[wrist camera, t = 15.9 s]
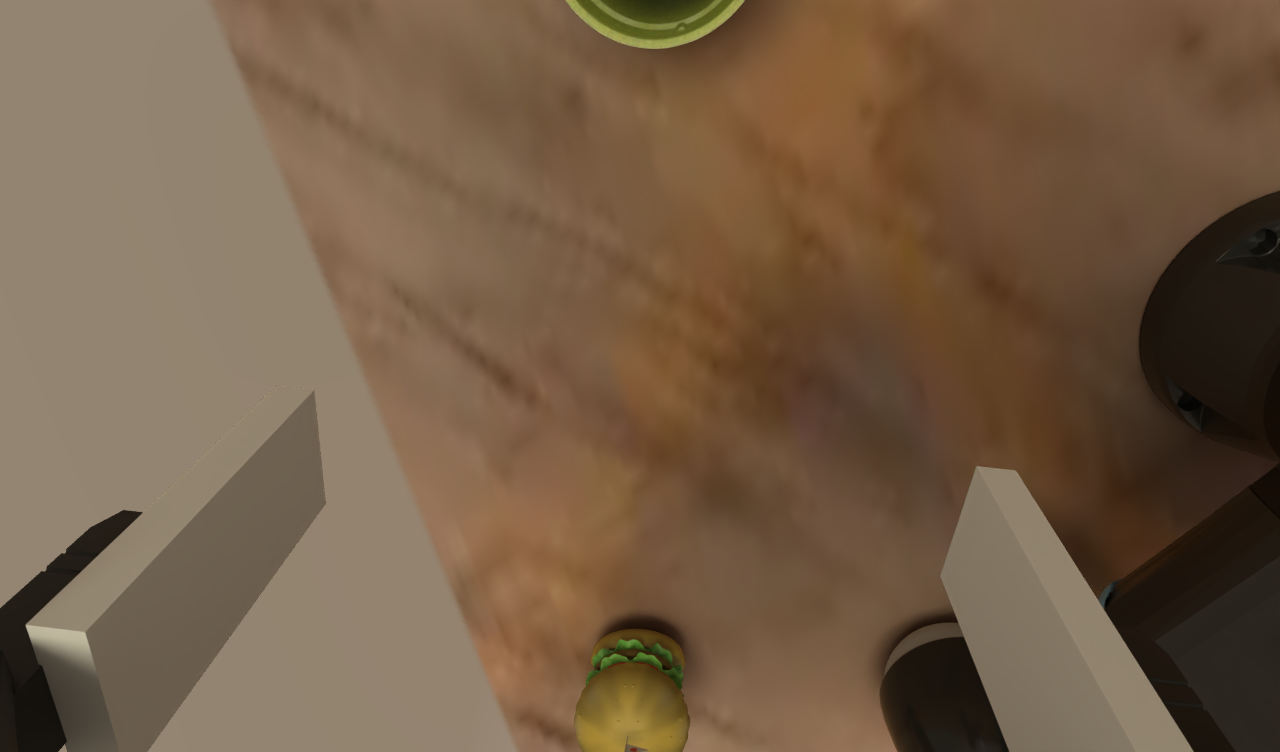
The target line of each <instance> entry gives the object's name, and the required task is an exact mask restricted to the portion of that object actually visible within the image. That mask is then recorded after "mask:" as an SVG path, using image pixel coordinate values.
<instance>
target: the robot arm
mask: <svg viewBox="0 0 1280 752" xmlns="http://www.w3.org/2000/svg"><path fill="white" fill-rule="evenodd" d="M1140 353H1141V360H1142V365H1143V369H1144V372H1145V375H1146V378H1147V380H1148V382H1149V384H1150V386H1151V388H1152V389H1153V391H1154V392H1155V394H1156V395H1157V396H1158V397H1159V399H1160V400H1161V401H1162V402H1163V403H1164V404H1165V405H1166V406H1167V407H1168V408H1169V409H1170V410H1171V411H1173V412H1174V413H1175V414H1176V415H1177V416H1178V417H1179V418H1180V419H1181V420H1182V421H1184V422H1185V423H1186V424H1187V425H1188V426H1190V427H1191V428H1193V429H1194V430H1196V431H1197V432H1199V433H1201V434H1203V435H1204V436H1206V437H1208V438H1210V439H1212V440H1214V441H1217V442H1220V443H1222V444H1225V445H1228V446H1231V447H1234V448H1237V449H1240V450H1243V451H1246V452H1249V453H1252V454H1255V455H1258V456H1261V457H1264V458H1267V459H1270V460H1273V461H1276V462H1279V464H1278V465H1277V466H1276V467H1274V468H1273V469H1272V470H1270V471H1269V472H1268V473H1266V474H1265V475H1264V476H1262V477H1261V478H1260V479H1258V480H1257V481H1256V482H1254V483H1253V484H1252V485H1250V486H1248V487H1247V488H1246V489H1244V490H1243V491H1242V492H1240V493H1239V494H1238V495H1236V496H1235V497H1234V498H1232V499H1231V500H1230V501H1228V502H1227V503H1226V504H1224V505H1223V506H1222V507H1220V508H1219V509H1218V510H1216V511H1215V512H1214V513H1212V514H1211V515H1210V516H1208V517H1207V518H1206V519H1204V520H1203V521H1202V522H1200V523H1199V524H1198V525H1196V526H1195V527H1193V528H1192V529H1191V530H1189V531H1188V532H1187V533H1185V534H1184V535H1182V536H1181V537H1180V538H1178V539H1177V540H1176V541H1174V542H1173V543H1171V544H1170V545H1169V546H1167V547H1166V548H1165V549H1163V550H1162V551H1160V552H1159V553H1158V554H1156V555H1155V556H1154V557H1152V558H1151V559H1149V560H1148V561H1147V562H1145V563H1144V564H1143V565H1141V566H1140V567H1138V568H1137V569H1136V570H1134V571H1133V572H1132V573H1130V574H1129V575H1127V576H1126V577H1125V578H1123V579H1121V580H1119V581H1115V582H1112V583H1111V584H1109V585H1108V586H1107V587H1106V588H1105V589H1104V590H1103V592H1102V593H1101V595H1100V597H1099V599H1098V600H1097V598H1096V596H1095V595H1094V593H1093V592H1092V590H1091V588H1090V587H1089V585H1088V584H1087V582H1086V581H1085V579H1084V577H1083V576H1082V574H1081V573H1080V571H1079V570H1078V568H1077V566H1076V565H1075V563H1074V562H1073V560H1072V558H1071V557H1070V555H1069V554H1068V552H1067V551H1066V549H1065V547H1064V546H1063V544H1062V543H1061V541H1060V539H1059V538H1058V536H1057V535H1056V533H1055V532H1054V530H1053V528H1052V527H1051V525H1050V524H1049V522H1048V521H1047V519H1046V517H1045V516H1044V514H1043V513H1042V511H1041V509H1040V508H1039V506H1038V505H1037V503H1036V502H1035V500H1034V498H1033V497H1032V495H1031V494H1030V492H1029V490H1028V489H1027V487H1026V486H1025V484H1024V483H1023V481H1022V479H1021V478H1020V476H1019V475H1018V473H1017V472H1016V471H1015V470H1006V469H997V468H989V467H980V466H976V469H975V472H974V475H973V478H972V481H971V484H970V487H969V490H968V493H967V496H966V499H965V502H964V506H963V509H962V512H961V515H960V518H959V521H958V524H957V527H956V530H955V533H954V536H953V539H952V542H951V545H950V548H949V551H948V554H947V557H946V560H945V563H944V566H943V569H942V572H941V575H940V577H941V580H942V582H943V585H944V587H945V590H946V592H947V595H948V597H949V600H950V602H951V605H952V607H953V610H954V612H955V615H956V618H957V620H958V623H959V625H960V628H961V630H962V633H963V635H964V638H965V640H966V643H967V645H968V648H969V651H970V653H971V656H972V658H973V661H974V663H975V666H976V668H977V671H978V673H979V676H980V678H981V681H982V683H983V686H984V689H985V691H986V694H987V696H988V699H989V701H990V704H991V706H992V709H993V711H994V714H995V716H996V719H997V721H998V724H999V727H1000V729H1001V732H1002V734H1003V737H1004V739H1005V742H1006V744H1007V747H1008V749H1009V752H1280V192H1277V193H1274V194H1271V195H1268V196H1265V197H1262V198H1260V199H1257V200H1255V201H1253V202H1250V203H1248V204H1246V205H1244V206H1242V207H1240V208H1238V209H1236V210H1235V211H1233V212H1231V213H1229V214H1228V215H1226V216H1224V217H1223V218H1221V219H1220V220H1218V221H1217V222H1215V223H1214V224H1213V225H1211V226H1210V227H1209V228H1207V229H1206V230H1205V231H1203V232H1202V233H1201V234H1200V235H1199V236H1197V237H1196V238H1195V239H1194V240H1193V241H1192V242H1191V243H1190V244H1189V245H1188V246H1187V247H1186V248H1185V249H1184V250H1183V251H1182V252H1181V253H1180V254H1179V255H1178V256H1177V257H1176V259H1175V260H1174V261H1173V262H1172V264H1171V265H1170V266H1169V268H1168V269H1167V270H1166V272H1165V273H1164V275H1163V276H1162V278H1161V279H1160V281H1159V283H1158V284H1157V286H1156V288H1155V290H1154V292H1153V294H1152V296H1151V298H1150V301H1149V303H1148V306H1147V309H1146V311H1145V315H1144V319H1143V323H1142V328H1141V336H1140ZM325 504H326V501H325V492H324V482H323V472H322V462H321V452H320V442H319V432H318V424H317V413H316V404H315V394H314V390H310V389H301V388H292V387H283V386H276V387H274V388H273V389H272V390H271V391H270V392H269V393H268V394H267V395H266V396H265V397H264V398H263V399H262V400H261V401H260V402H259V403H258V404H257V405H256V406H254V408H252V409H251V410H250V411H249V412H248V413H247V414H246V415H245V416H244V417H243V418H242V419H241V420H240V421H239V422H238V423H237V424H236V425H235V426H233V428H231V429H230V430H229V431H228V432H227V433H226V434H225V435H224V436H223V437H222V438H221V439H220V440H219V441H218V442H217V443H216V444H215V445H214V446H213V447H211V448H210V449H209V450H208V451H207V452H206V453H205V454H204V455H203V456H202V457H201V458H200V459H199V460H198V461H197V462H196V463H195V464H194V465H193V466H192V467H190V468H189V470H187V471H186V472H185V473H184V474H183V475H182V476H181V477H180V478H179V479H178V480H177V481H176V482H175V483H174V484H173V485H172V486H171V487H170V488H168V489H167V490H166V491H165V492H164V493H163V494H162V495H161V496H160V497H159V498H158V499H157V500H156V501H155V502H154V503H153V504H152V505H151V506H150V507H149V508H147V509H146V511H144V512H143V513H142V512H135V511H126V510H123V511H121V512H119V513H117V514H115V515H113V516H111V517H110V518H108V519H106V520H104V521H102V522H100V523H98V524H96V525H95V526H92V527H91V528H89V529H88V530H87V531H86V532H85V533H84V534H83V535H82V536H80V537H79V538H78V539H77V540H76V541H75V542H74V543H73V544H72V545H71V546H69V547H68V548H67V549H66V553H65V554H60V555H59V556H58V557H57V558H56V559H55V560H54V561H53V562H51V563H50V564H49V565H48V566H47V569H46V571H45V572H43V571H41V572H40V573H39V574H38V575H37V576H36V577H35V578H34V579H33V580H31V581H30V582H29V583H28V584H27V585H26V586H25V587H24V588H22V589H21V590H20V591H19V592H18V593H17V594H16V595H15V596H13V597H12V598H11V599H10V600H9V601H8V602H7V603H6V604H5V605H3V606H2V607H1V608H0V752H58V751H59V750H60V749H61V748H62V747H63V745H64V744H65V746H66V749H67V752H147V751H148V750H149V749H150V747H151V745H152V744H153V743H154V742H155V740H156V739H157V737H158V736H159V735H160V733H161V732H162V731H163V729H164V728H165V726H166V725H167V724H168V722H169V721H170V719H171V718H172V717H173V715H174V714H175V712H176V711H177V710H178V708H179V707H180V706H181V704H182V703H183V701H184V700H185V699H186V697H187V696H188V694H189V693H190V692H191V690H192V689H193V687H194V686H195V685H196V683H197V682H198V681H199V679H200V678H201V676H202V675H203V673H204V672H205V671H206V669H207V668H208V667H209V665H210V664H211V662H212V661H213V660H214V658H215V657H216V656H217V654H218V653H219V651H220V650H221V648H222V647H223V646H224V644H225V643H226V642H227V640H228V639H229V637H230V636H231V635H232V633H233V632H234V631H235V629H236V628H237V626H238V625H239V623H240V622H241V621H242V619H243V618H244V617H245V615H246V614H247V612H248V611H249V610H250V608H251V607H252V605H253V604H254V603H255V601H256V600H257V599H258V597H259V595H260V594H261V593H262V592H263V590H264V589H265V587H266V586H267V585H268V583H269V582H270V580H271V579H272V578H273V576H274V575H275V573H276V572H277V571H278V569H279V568H280V567H281V565H282V564H283V562H284V561H285V559H286V558H287V557H288V555H289V554H290V553H291V551H292V550H293V548H294V547H295V546H296V544H297V543H298V542H299V540H300V539H301V537H302V536H303V535H304V533H305V532H306V530H307V529H308V528H309V526H310V525H311V523H312V522H313V521H314V519H315V518H316V516H317V515H318V514H319V512H320V511H321V509H322V508H323V507H324V505H325Z"/></svg>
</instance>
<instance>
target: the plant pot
mask: <svg viewBox="0 0 1280 752" xmlns="http://www.w3.org/2000/svg"><path fill="white" fill-rule="evenodd" d="M744 1H745V0H566V2H567V3H568V5H569V6H570V7H571V8H572V9H573V11H574V12H575V13H576V14H577V15H578V16H579V17H580V18H581V19H582V20H583V21H585V22H586V23H587V24H588V25H589V26H591V27H592V28H593V29H595V30H596V31H598V32H599V33H601V34H602V35H604V36H606V37H608V38H610V39H612V40H614V41H616V42H619V43H621V44H624V45H628V46H633V47H637V48H645V49H662V48H671V47H676V46H680V45H683V44H687V43H690V42H692V41H695V40H697V39H699V38H701V37H703V36H705V35H707V34H709V33H710V32H712V31H713V30H715V29H716V28H718V27H719V26H720V25H722V24H723V23H724V22H725V21H726V20H727V19H729V18H730V17H731V16H732V14H733V13H735V12H736V10H737V9H738V8H739V7H740V6H741V5H742V3H743V2H744Z"/></svg>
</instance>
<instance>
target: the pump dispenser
mask: <svg viewBox="0 0 1280 752" xmlns="http://www.w3.org/2000/svg"><path fill="white" fill-rule="evenodd" d="M880 704H881V709H882V713H883V716H884V720H885V723H886V725H887V728H888V731H889V733H890V736H891V738H892V741H893V743H894V745H895V748H896V750H897V752H1009V749H1008V747H1007V744H1006V742H1005V739H1004V737H1003V734H1002V732H1001V729H1000V727H999V724H998V721H997V719H996V716H995V714H994V711H993V709H992V706H991V704H990V701H989V699H988V696H987V694H986V691H985V689H984V686H983V683H982V681H981V678H980V676H979V673H978V671H977V668H976V666H975V663H974V661H973V658H972V656H971V653H970V651H969V648H968V645H967V643H966V640H965V638H964V635H963V633H962V630H961V628H960V625H959V623H937V624H932V625H929V626H925V627H923V628H920V629H918V630H916V631H914V632H912V633H911V634H909V635H908V636H907V637H905V638H904V639H903V640H902V641H901V642H900V643H899V644H898V645H897V646H896V648H895V649H894V650H893V652H892V653H891V655H890V657H889V659H888V662H887V665H886V668H885V672H884V678H883V681H882V684H881V687H880Z"/></svg>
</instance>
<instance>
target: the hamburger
mask: <svg viewBox="0 0 1280 752" xmlns="http://www.w3.org/2000/svg"><path fill="white" fill-rule="evenodd" d="M591 664H592V665H593V666H594V670H593V671H590V672H589V674H588V677H587V680H586V687H585V689H584V690H583V691H582V694H581V697H580V699H579V701H578V703H577V705H576V714H575V718H574V723H575V730H576V736H577V740H578V743H579V745H580V748H581V750H582V752H682V751H683V749H684V746H685V744H686V741H687V739H688V730H689V727H690V717H689V714H688V709H687V706H686V704H685V702H684V699H683V697H684V695H682V692H681V691H680V690H681V688H682V681H683V673H682V670H683V669H684V667H685V664H686V662H685V658H684V655H683V651H682V649H681V647H680V646H679V645H678V643H676V642H675V641H674V640H673V639H672V638H670V637H668V636H667V635H664V634H662V633H659V632H656V631H652V630H646V629H625V630H619V631H615V632H612V633H610V634H608V635H606V636H604V637H603V638H601V639H600V640H599V641H598V642H597V644H596V645H595V647H594V649H593V652H592V657H591Z"/></svg>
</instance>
